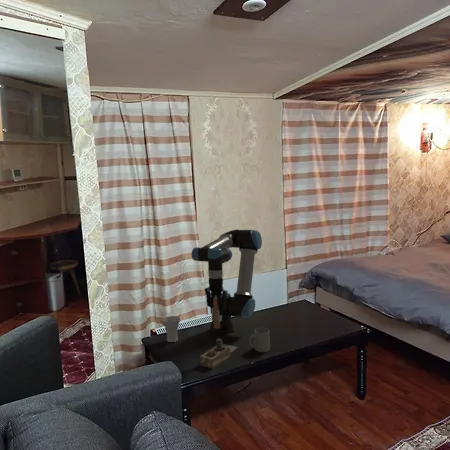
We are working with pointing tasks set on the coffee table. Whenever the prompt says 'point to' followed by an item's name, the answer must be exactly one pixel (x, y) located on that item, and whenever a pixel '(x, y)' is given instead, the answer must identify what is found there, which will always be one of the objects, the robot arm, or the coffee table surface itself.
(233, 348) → the mat
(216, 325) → the dowel
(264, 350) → the mug
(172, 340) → the cup
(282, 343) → the coffee table surface
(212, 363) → the socket block
